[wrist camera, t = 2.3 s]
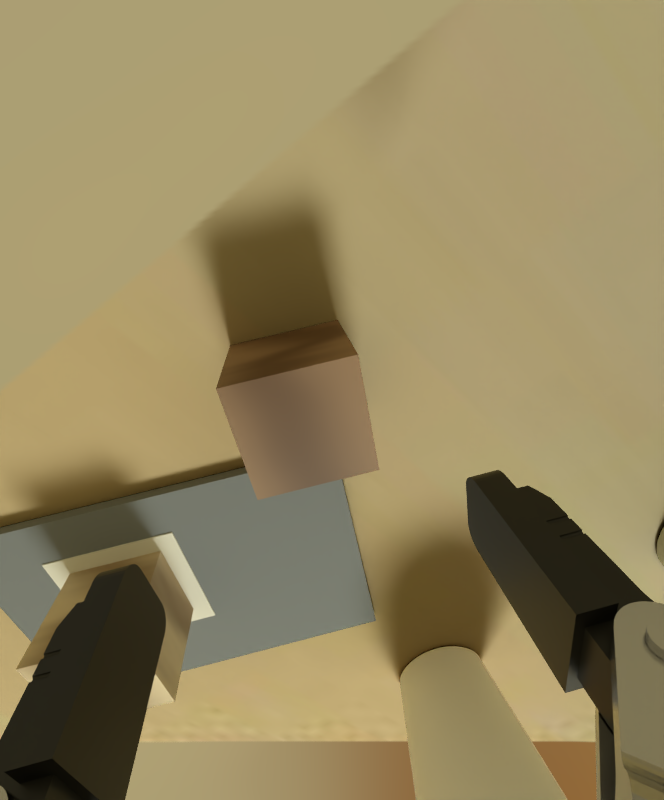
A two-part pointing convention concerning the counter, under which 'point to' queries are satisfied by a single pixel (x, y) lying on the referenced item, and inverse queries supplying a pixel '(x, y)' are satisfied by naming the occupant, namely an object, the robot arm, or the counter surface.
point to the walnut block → (298, 409)
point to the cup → (467, 733)
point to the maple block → (175, 612)
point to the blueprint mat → (206, 560)
